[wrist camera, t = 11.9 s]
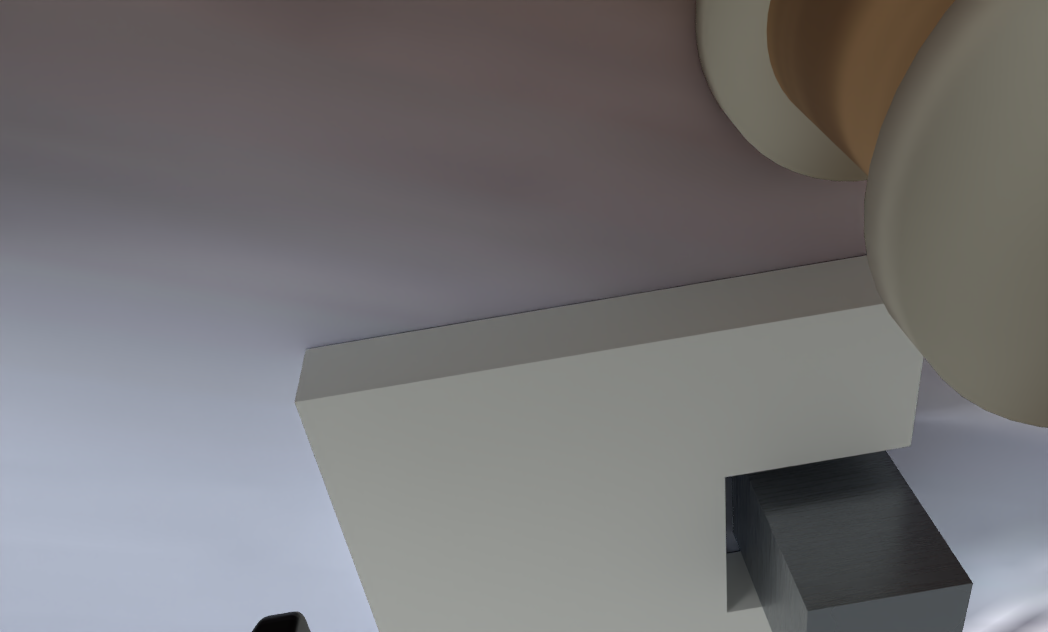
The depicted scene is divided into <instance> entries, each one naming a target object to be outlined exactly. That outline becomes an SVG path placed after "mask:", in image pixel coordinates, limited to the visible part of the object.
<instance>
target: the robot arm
mask: <svg viewBox="0 0 1048 632" xmlns="http://www.w3.org/2000/svg"><path fill="white" fill-rule="evenodd" d="M252 632H310V629H309V627H308V624H307V622H306V619H305V617H304V616H303V615H302V614H301V613H300V612H288V613H282V614H277V615H271V616H267V617H264V618H263V619H261V620H260V621H259V622H258V623H257V625H256V626H255V628H254V629H253V631H252Z"/></svg>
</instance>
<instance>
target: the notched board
mask: <svg viewBox="0 0 1048 632" xmlns="http://www.w3.org/2000/svg"><path fill="white" fill-rule="evenodd" d="M923 357H924V356H923V355H922V354H921V353H920V351H919V350H918V349H917V348H916V347H915V345H914V344H913V343H912V342H911V340H910V339H909V338H908V337H907V336H906V334H905V333H904V332H903V331H902V329H901V328H900V327H899V326H898V324H897V323H896V322H895V320H894V319H893V318H892V317H891V315H890V314H889V312H888V311H887V309H886V307H885V305H884V303H883V301H882V299H881V297H880V295H879V294H878V292H877V290H876V286H875V283H874V280H873V277H872V274H871V271H870V268H869V264H868V259H867V255H866V256H860V257H854V258H848V259H842V260H836V261H830V262H824V263H818V264H812V265H806V266H800V267H794V268H788V269H782V270H776V271H770V272H764V273H758V274H752V275H746V276H740V277H734V278H728V279H722V280H716V281H710V282H704V283H698V284H692V285H686V286H681V287H675V288H669V289H663V290H657V291H651V292H645V293H639V294H633V295H627V296H621V297H615V298H609V299H603V300H597V301H591V302H585V303H579V304H573V305H567V306H561V307H555V308H549V309H543V310H537V311H531V312H525V313H519V314H513V315H507V316H501V317H495V318H490V319H484V320H478V321H472V322H466V323H460V324H454V325H448V326H442V327H436V328H430V329H424V330H418V331H412V332H406V333H400V334H394V335H388V336H382V337H376V338H370V339H364V340H358V341H352V342H346V343H340V344H334V345H328V346H322V347H316V348H310V349H306V351H305V355H304V360H303V365H302V370H301V374H300V379H299V384H298V389H297V393H296V398H295V405H296V407H297V410H298V413H299V416H300V418H301V421H302V424H303V426H304V429H305V432H306V434H307V437H308V440H309V443H310V445H311V448H312V451H313V453H314V456H315V459H316V462H317V464H318V467H319V470H320V472H321V475H322V478H323V480H324V483H325V486H326V489H327V491H328V494H329V497H330V499H331V502H332V505H333V508H334V510H335V513H336V516H337V518H338V521H339V524H340V527H341V529H342V532H343V535H344V537H345V540H346V543H347V545H348V548H349V551H350V554H351V556H352V559H353V562H354V564H355V567H356V570H357V573H358V575H359V578H360V581H361V583H362V586H363V589H364V591H365V594H366V597H367V600H368V602H369V605H370V608H371V610H372V613H373V616H374V619H375V621H376V624H377V627H378V629H379V632H772V630H771V628H770V625H769V623H768V620H767V618H766V615H765V613H764V610H763V607H762V605H761V602H760V600H759V597H758V595H757V592H756V590H755V587H754V584H753V582H752V579H751V577H750V574H749V572H748V569H747V567H746V564H745V562H744V559H743V556H742V554H741V551H739V552H733V553H727V554H726V512H725V477H730V476H736V475H742V474H748V473H754V472H759V471H765V470H771V469H777V468H783V467H789V466H795V465H801V464H807V463H813V462H819V461H825V460H831V459H837V458H843V457H849V456H855V455H861V454H867V453H873V452H879V451H885V450H891V449H897V448H903V447H909V446H911V440H912V433H913V427H914V420H915V413H916V406H917V399H918V392H919V385H920V378H921V371H922V364H923Z"/></svg>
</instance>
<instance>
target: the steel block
mask: <svg viewBox="0 0 1048 632" xmlns="http://www.w3.org/2000/svg"><path fill="white" fill-rule="evenodd" d="M732 505H733V533H734V536H735V539H736V541H737V544H738V546H739V549H740V551H741V554H742V556H743V559H744V562H745V564H746V567H747V569H748V572H749V574H750V577H751V579H752V582H753V584H754V587H755V590H756V592H757V595H758V597H759V600H760V602H761V605H762V607H763V610H764V613H765V615H766V618H767V620H768V623H769V625H770V628H771V630H772V632H962V630H963V626H964V621H965V617H966V612H967V608H968V603H969V598H970V594H971V589H972V585H973V583H972V581H971V580H970V578H969V577H968V575H967V574H966V572H965V570H964V569H963V567H962V566H961V564H960V563H959V561H958V560H957V558H956V557H955V555H954V554H953V552H952V551H951V549H950V548H949V546H948V545H947V543H946V542H945V540H944V539H943V537H942V536H941V534H940V532H939V531H938V529H937V528H936V526H935V525H934V523H933V522H932V520H931V519H930V517H929V516H928V514H927V513H926V511H925V510H924V508H923V507H922V505H921V504H920V502H919V501H918V499H917V498H916V496H915V494H914V493H913V491H912V490H911V488H910V487H909V485H908V484H907V482H906V481H905V479H904V478H903V476H902V475H901V473H900V472H899V470H898V469H897V467H896V466H895V464H894V463H893V461H892V460H891V458H890V457H889V455H888V453H887V452H886V450H885V451H879V452H873V453H867V454H861V455H855V456H849V457H843V458H837V459H831V460H825V461H819V462H813V463H807V464H801V465H795V466H789V467H783V468H777V469H771V470H765V471H759V472H754V473H748V474H742V475H736V476H732Z"/></svg>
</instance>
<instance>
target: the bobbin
mask: <svg viewBox="0 0 1048 632" xmlns="http://www.w3.org/2000/svg"><path fill="white" fill-rule="evenodd" d="M695 29H696V39H697V49H698V54H699V58H700V62H701V66H702V70H703V73H704V76H705V78H706V81H707V83H708V86H709V88H710V91H711V92H712V94H713V96H714V98H715V99H716V101H717V103H718V105H719V106H720V108H721V109H722V110H723V112H724V113H725V114H726V115H727V117H728V118H729V119H730V120H731V122H732V123H733V124H734V125H735V126H736V128H737V129H738V130H739V131H740V133H741V134H742V135H743V136H744V137H745V139H746V140H747V141H748V142H749V143H750V144H752V145H753V146H754V147H755V148H756V149H757V150H758V151H759V152H760V153H761V154H763V155H764V156H766V157H767V158H769V159H770V160H772V161H773V162H775V163H777V164H778V165H780V166H783V167H785V168H787V169H789V170H791V171H793V172H796V173H799V174H803V175H806V176H809V177H813V178H818V179H825V180H831V181H863V180H867V187H866V193H865V199H864V238H865V245H866V252H867V259H868V264H869V268H870V271H871V274H872V277H873V280H874V283H875V286H876V290H877V292H878V294H879V295H880V297H881V299H882V301H883V303H884V305H885V307H886V309H887V311H888V312H889V314H890V315H891V317H892V318H893V319H894V320H895V322H896V323H897V324H898V326H899V327H900V328H901V329H902V331H903V332H904V333H905V334H906V336H907V337H908V338H909V339H910V340H911V342H912V343H913V344H914V345H915V347H916V348H917V349H918V350H919V351H920V353H921V354H922V355H923V356H924V358H925V359H926V360H927V361H928V362H929V364H930V365H931V366H932V367H933V369H934V370H935V371H936V372H937V374H938V375H939V376H940V377H941V378H942V379H943V380H944V381H945V382H946V383H947V384H948V385H949V386H951V387H952V388H953V389H954V390H955V391H956V392H958V393H959V394H960V395H961V396H962V397H964V398H966V399H967V400H969V401H971V402H972V403H974V404H976V405H977V406H979V407H981V408H982V409H984V410H986V411H989V412H991V413H994V414H996V415H999V416H1001V417H1004V418H1007V419H1009V420H1012V421H1016V422H1021V423H1025V424H1029V425H1034V426H1038V427H1047V428H1048V0H696V20H695Z"/></svg>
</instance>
